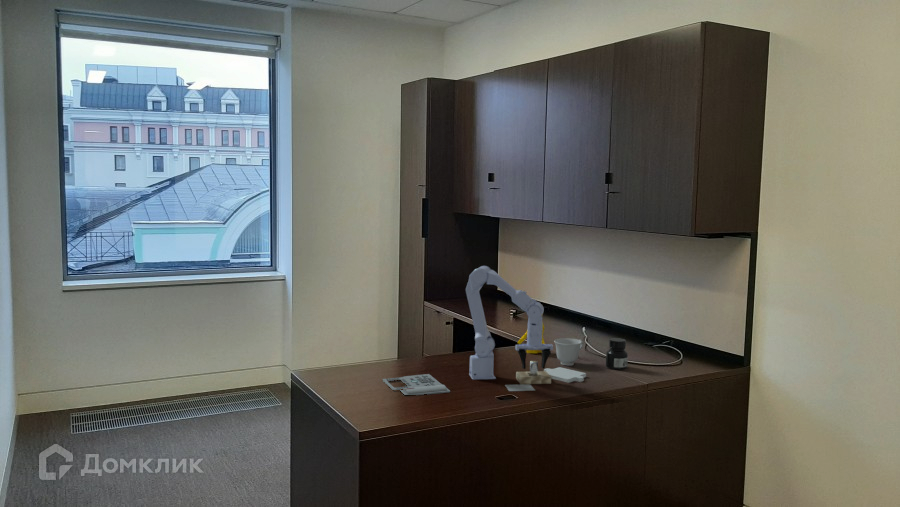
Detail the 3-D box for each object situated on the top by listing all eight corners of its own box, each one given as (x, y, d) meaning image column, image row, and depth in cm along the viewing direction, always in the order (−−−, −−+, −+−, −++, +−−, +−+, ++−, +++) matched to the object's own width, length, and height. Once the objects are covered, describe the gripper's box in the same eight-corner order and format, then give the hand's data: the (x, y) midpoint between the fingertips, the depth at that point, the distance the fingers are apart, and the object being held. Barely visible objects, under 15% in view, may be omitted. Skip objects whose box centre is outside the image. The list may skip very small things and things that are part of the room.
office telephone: (451, 387, 260) (399, 392, 253) (451, 394, 261) (399, 399, 253) (429, 370, 282) (380, 374, 274) (428, 377, 282) (380, 381, 275)
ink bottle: (618, 371, 293) (619, 343, 292) (600, 367, 300) (602, 339, 299) (631, 367, 300) (633, 340, 299) (614, 363, 306) (615, 336, 305)
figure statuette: (514, 350, 328) (515, 303, 326) (525, 347, 333) (526, 301, 331) (543, 357, 315) (545, 308, 313) (555, 354, 320) (556, 306, 318)
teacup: (592, 364, 304) (592, 341, 303) (566, 369, 296) (567, 345, 295) (572, 358, 314) (573, 336, 313) (547, 362, 306) (548, 340, 305)
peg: (530, 382, 275) (530, 362, 274) (529, 380, 278) (529, 360, 277) (537, 383, 274) (538, 362, 274) (536, 380, 277) (537, 360, 277)
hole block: (520, 384, 272) (520, 377, 271) (515, 379, 279) (516, 371, 279) (551, 384, 273) (551, 376, 273) (545, 378, 281) (545, 371, 281)
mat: (509, 391, 262) (509, 391, 262) (504, 385, 270) (504, 384, 270) (535, 391, 264) (535, 390, 264) (529, 385, 272) (530, 384, 272)
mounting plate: (591, 379, 283) (591, 374, 283) (573, 385, 273) (573, 380, 273) (554, 370, 295) (554, 365, 295) (535, 376, 286) (535, 371, 286)
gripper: (518, 336, 269) (517, 371, 271) (555, 336, 272) (554, 370, 273) (514, 332, 276) (513, 366, 278) (550, 332, 278) (549, 365, 280)
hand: (533, 368), depth 276 cm, fingers open, 7 cm apart
